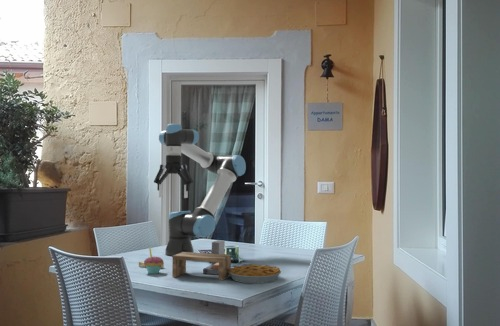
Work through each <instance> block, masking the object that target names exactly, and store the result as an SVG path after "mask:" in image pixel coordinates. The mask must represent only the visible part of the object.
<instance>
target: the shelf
mask: <svg viewBox="0 0 500 326" xmlns="http://www.w3.org/2000/svg"><path fill="white" fill-rule="evenodd" d="M231 257H232V255H231V254H226V253H224V254H212V252H211V253H206V252H194V253H192V252H182V253H179V254H176V255H173V256H172V276H171V277H172V278H177V277H179V276H181V275H184V274H185V273H186V272H187V261H195V262H209V263H210V262H211V263H212V262H219V275H218V280H219V281H224V280H225V279H226V280H227V278H229V277H231V275H230V273H229V271H230V268H232V262H231V261H232V258H231Z"/></svg>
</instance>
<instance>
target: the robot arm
mask: <svg viewBox="0 0 500 326" xmlns="http://www.w3.org/2000/svg"><path fill="white" fill-rule="evenodd" d="M199 139H200V135H199V132H198V131H197V130H195V129H187V128H182V124H179V123H168V124H167V125H166V130H162V131H160V132H159V135H158V141H159V143H160V144H161V145H165V148H166V149H165V154H166V156H165V164H160V165H159V169H158V171H157V174H156V176H155V178H154V180H153V183H154V184H157V191H158V198H164V197H163V196H164V195H163V191H164V190H163V189H164V181H165V179H166V178H167V177H168V176H169V175H170V174H173V175H174V174H175V175H179V177H180V178H181V180H182V182H184V185H183V187H184V188H183V194H184V195H183V198H184V199H187V198H189V196H188V195H189V191H190V185H191V184H194V180H193V178H192V176H191V174H190V172H189V169H188V165H187V164H182V156H181V155H182V154H183V155H185V156H186V157H188V158H190V159H191V160H193V161H195V162H196V163H198V164H199V165H200V167H202V169H205V170H206V171H208V172H210V173H212V174H214V175H216V178H215V180H214V182H213V183H212V184H211V185H212V186H211V187H210V188H209V190H208V192H207V193H206V195H205V197H204V199H203V201H202V202H201V204H200V206H197V207H195V209H194V210H193V213H192V212H191V210H182V211H171V212H170V213H169V215H168V241H167V244H166V248H165V251H164V252H165V255H166V256H169V257H173V255H176V254H179V253H182V252H192V253H195V252H194V247H193V243H192V240H191V237H197V238H206V237H209V236H211V235H212V234H213V232H214V231H215V229H216V220H215V219H216V216H215V214H216V211H217V210H218V208H219V206H220V205H221V202H222V201H223V199H224V197H225V195H226V193H227V191H228V190H229V187H230V186H231V184H232V183H234V182H236V180H237V178H238V177H241V176H243V175H244V174H245V173H246V169H247V165H246V161H245V158H244V157H243V156H242V155H240V154H228V155H227V154H213V153H212V152H209V151H208V152H207V151H205V150H204V149H202V148H201V147H199V146H198V145H196V144H197V143H198V142H199ZM165 169H166V170H165ZM181 169H182V170H183V171H182V170H181ZM164 170H165V171H164ZM183 172H184V174H185V175H184V174H183Z"/></svg>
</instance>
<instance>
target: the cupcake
mask: <svg viewBox="0 0 500 326" xmlns="http://www.w3.org/2000/svg"><path fill="white" fill-rule="evenodd" d="M148 247H149V249H148V250H149V257H147V258H145V259H144V265H145V266H146V267H145V268H146V270H147V274H149V275H152V274H153V275H155V274H159V273H160V270H161V269H160V268H161V266H162V265H163V264H164V265H165V263H164V260H163V259H162V258H161V257H160V256H153V255H152V248H151V247H150V245H149V246H148Z"/></svg>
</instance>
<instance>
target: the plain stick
mask: <svg viewBox="0 0 500 326" xmlns="http://www.w3.org/2000/svg"><path fill="white" fill-rule="evenodd" d="M144 261H145V260H144ZM144 261H138V267H139V268H146V266H145V265H144ZM164 267H165V263H164V264H163V265H162V266H161V268H160V270H161V269H164Z"/></svg>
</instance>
